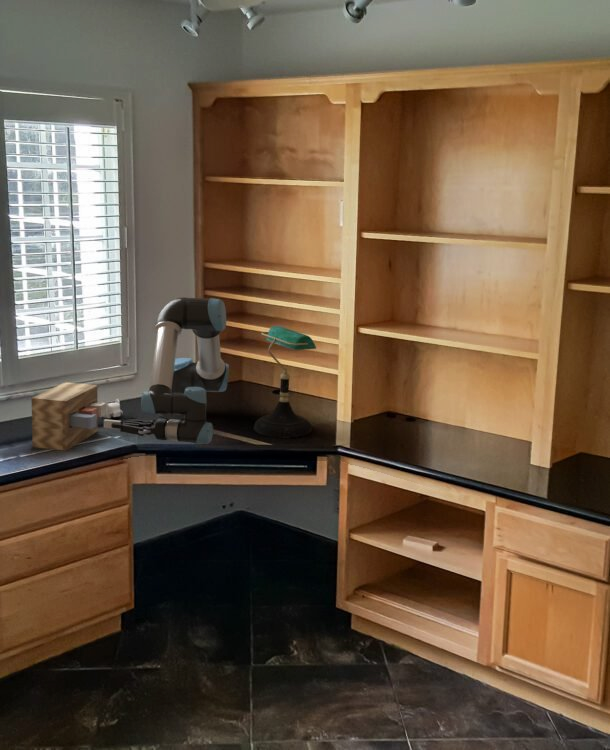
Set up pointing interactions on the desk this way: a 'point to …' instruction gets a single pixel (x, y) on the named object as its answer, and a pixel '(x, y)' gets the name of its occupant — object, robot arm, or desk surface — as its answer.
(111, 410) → the elephant figurine
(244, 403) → the desk surface
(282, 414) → the banker's lamp
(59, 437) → the wooden box
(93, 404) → the white key
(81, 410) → the brick key
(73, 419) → the slate key
